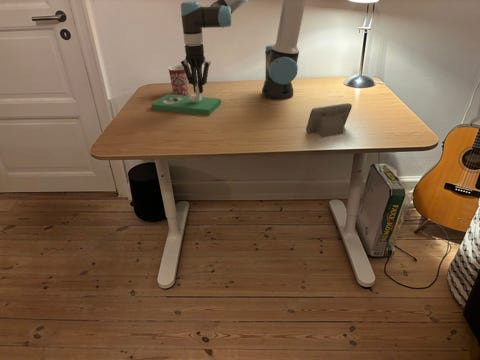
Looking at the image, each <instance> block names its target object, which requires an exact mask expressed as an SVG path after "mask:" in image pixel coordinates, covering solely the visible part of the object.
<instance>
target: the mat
mask: <svg viewBox="0 0 480 360" xmlns="http://www.w3.org/2000/svg"><path fill="white" fill-rule="evenodd" d="M189 97H190V95H187V96H182V95H174V94H170V93H169V94H168V93H166V94H165V95H164V96H162V97H161V98H159V99H157V100H156V101H154V102H153V103H151V108H152V110H153V111H161V112H169V113H170V112H172V113H182V114H193V115H203V116H210V115H211V114H212V113H213V112H215V111H216V110H217V108H219V107H220V106H221V105H222V98H215V97H206V96H204V97H203V96H202V99H201V100H200V101H196V102H191V101H190V100H189Z"/></svg>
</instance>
